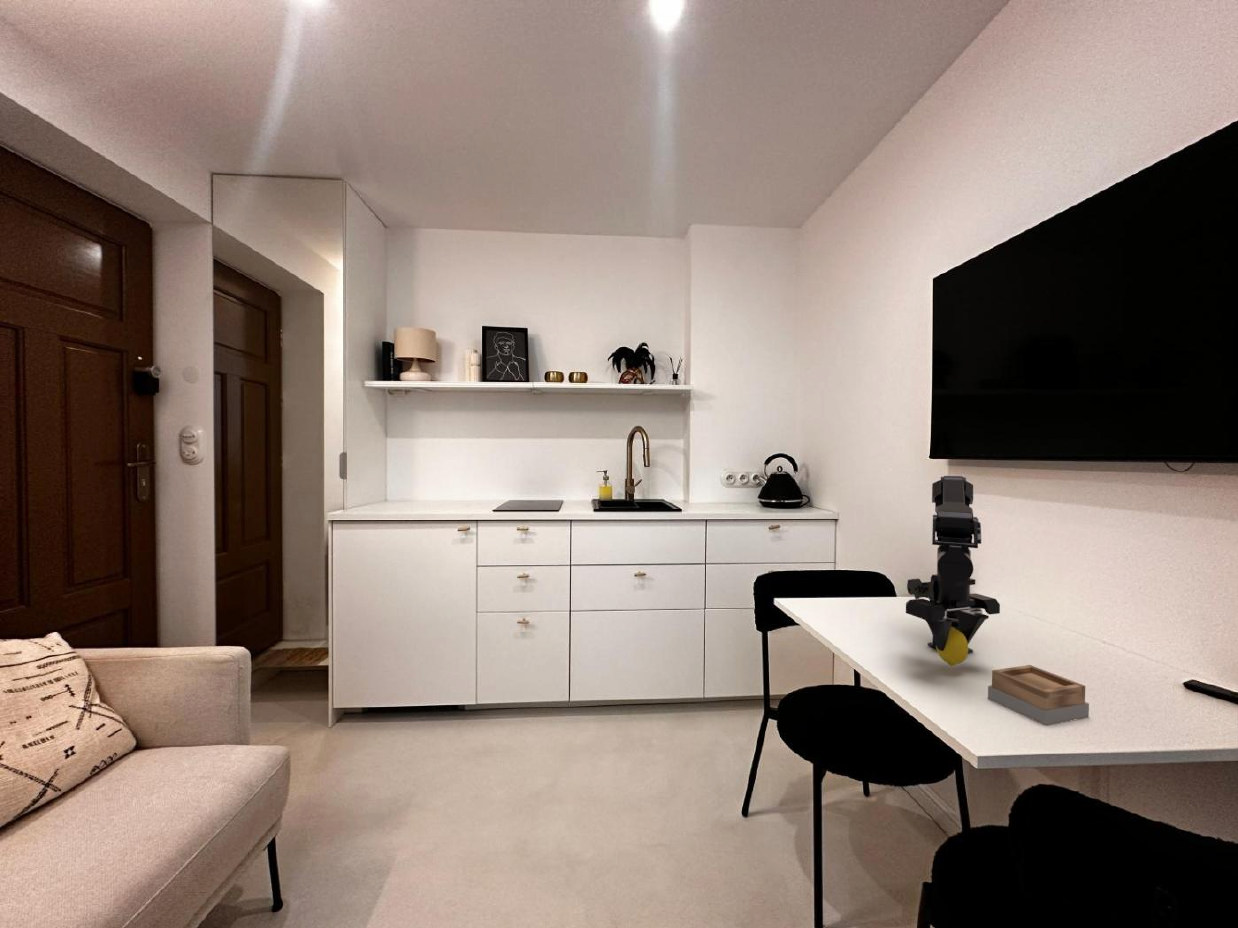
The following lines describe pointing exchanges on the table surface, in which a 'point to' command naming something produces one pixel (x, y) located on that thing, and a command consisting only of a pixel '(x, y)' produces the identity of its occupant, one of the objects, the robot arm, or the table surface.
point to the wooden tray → (1038, 687)
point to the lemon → (954, 648)
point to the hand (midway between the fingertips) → (951, 648)
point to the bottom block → (1038, 709)
